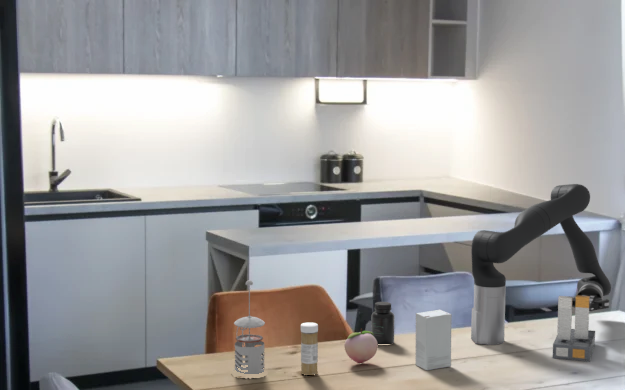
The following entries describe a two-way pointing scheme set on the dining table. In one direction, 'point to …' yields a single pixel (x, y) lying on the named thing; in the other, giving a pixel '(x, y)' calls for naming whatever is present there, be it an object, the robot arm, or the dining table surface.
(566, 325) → the grey upright block
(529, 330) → the dining table surface
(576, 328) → the knob orange
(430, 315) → the skincare box
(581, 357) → the console
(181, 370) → the dining table surface
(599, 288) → the robot arm
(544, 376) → the dining table surface
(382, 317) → the supplement bottle
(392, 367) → the dining table surface
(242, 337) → the french press
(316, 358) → the sprinkles bottle
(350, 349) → the decorative fruit
